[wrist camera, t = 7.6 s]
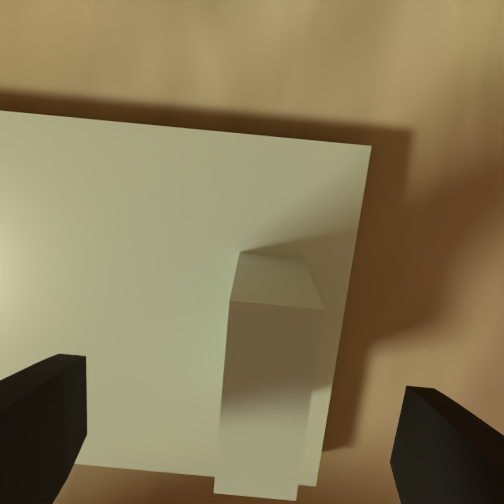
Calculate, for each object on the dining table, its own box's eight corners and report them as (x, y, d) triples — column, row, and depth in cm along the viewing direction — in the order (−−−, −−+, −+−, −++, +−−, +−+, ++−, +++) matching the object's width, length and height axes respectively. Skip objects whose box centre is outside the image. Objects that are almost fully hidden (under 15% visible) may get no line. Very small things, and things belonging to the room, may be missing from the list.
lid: (309, 449, 16) (336, 612, 10) (-57, 415, 16) (-230, 559, 10) (356, 146, 13) (429, 143, 7) (-96, 103, 13) (-371, 67, 7)
